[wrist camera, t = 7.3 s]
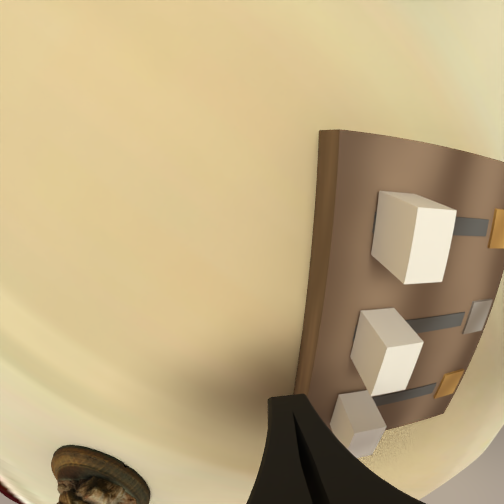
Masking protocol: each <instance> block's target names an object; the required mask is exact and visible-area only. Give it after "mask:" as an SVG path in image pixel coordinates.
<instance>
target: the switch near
mask: <svg viewBox="0 0 504 504" xmlns="http://www.w3.org/2000/svg"><path fill="white" fill-rule="evenodd" d="M456 212H457V210H454V209H452V208H450V207H447V206H445V205H442V204H440V203H437V202H435V201H432V200H430V199H427V198H424V197H422V196H419V195H417V194H410V193H399V192H388V191H379V197H378V206H377V215H376V223H375V230H374V238H373V245H372V251H371V255H372V256H373V257H374V258H375V259H376V260H378V261H379V262H380V263H381V264H382V265H383V266H384V267H385V268H387V269H388V270H389V271H390V272H391V273H392V274H393V275H394V276H395V277H396V278H398V279H399V280H400V281H401V282H402V283H403V284H418V283H433V282H442V280H443V276H444V272H445V268H446V263H447V259H448V255H449V250H450V245H451V240H452V235H453V230H454V224H455V218H456Z"/></svg>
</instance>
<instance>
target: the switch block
mask: <svg viewBox="0 0 504 504" xmlns="http://www.w3.org/2000/svg"><path fill="white" fill-rule="evenodd" d="M379 191H388V192H399V193H410V194H417V195H419V196H422V197H424V198H427V199H430V200H432V201H435V202H437V203H440V204H442V205H445V206H447V207H450V208H452V209H454V210H457V212H456V218H455V224H454V230H453V235H452V240H451V245H450V250H449V255H448V259H447V263H446V268H445V272H444V276H443V280H442V282H433V283H418V284H403V283H402V282H401V281H400V280H399V279H398V278H396V277H395V276H394V275H393V274H392V273H391V272H390V271H389V270H388V269H387V268H385V267H384V266H383V265H382V264H381V263H380V262H379V261H378V260H376V259H375V258H374V257H373V256H372V255H371V251H372V245H373V238H374V230H375V223H376V215H377V206H378V197H379ZM503 270H504V162H502V161H498V160H495V159H491V158H488V157H484V156H481V155H477V154H473V153H469V152H465V151H461V150H457V149H452V148H448V147H443V146H439V145H434V144H429V143H424V142H419V141H414V140H408V139H403V138H397V137H391V136H385V135H378V134H371V133H364V132H356V131H348V130H320V131H319V151H318V170H317V187H316V202H315V215H314V228H313V239H312V251H311V261H310V271H309V281H308V290H307V299H306V308H305V316H304V324H303V332H302V340H301V347H300V354H299V361H298V368H297V375H296V382H295V388H294V395H295V394H303V393H304V394H305V395H306V396H307V398H308V399H309V401H310V403H311V404H312V406H313V407H314V409H315V410H316V412H317V413H318V415H319V416H320V417H321V419H322V420H323V421H324V423H325V424H326V425H327V427H328V428H329V429H330V430H331V431H332V429H331V426H330V422H331V419H332V415H333V412H334V409H335V405H336V402H337V399H338V395H339V394H345V393H352V392H359V391H365V390H367V388H366V386H365V384H364V382H363V380H362V378H361V377H360V375H359V373H358V371H357V369H356V367H355V365H354V363H353V361H352V359H351V357H350V356H351V352H352V348H353V343H354V339H355V335H356V330H357V326H358V321H359V317H360V312H361V311H362V310H374V309H386V308H395V309H396V311H397V312H398V313H399V314H400V315H401V316H402V317H403V318H404V320H405V321H406V322H407V323H408V324H409V325H410V326H411V328H412V329H413V330H414V331H415V332H416V333H417V335H418V336H419V337H420V338H421V339H422V340H423V342H424V343H423V345H422V348H421V351H420V354H419V356H418V359H417V362H416V364H415V367H414V369H413V372H412V374H411V377H410V379H409V382H408V384H407V386H406V389H405V390H401V391H396V392H391V393H386V394H381V395H376V396H372V398H373V400H374V402H375V404H376V406H377V408H378V410H379V412H380V414H381V416H382V418H383V420H384V422H385V424H386V426H387V427H386V429H385V430H388V429H392V428H396V427H400V426H404V425H407V424H411V423H414V422H418V421H421V420H424V419H428V418H431V417H434V416H437V415H440V414H443V413H444V412H445V410H446V408H447V406H448V405H449V403H450V401H451V399H452V397H453V395H454V393H455V392H456V390H457V388H458V386H459V384H460V382H461V380H462V378H463V376H464V374H465V372H466V370H467V367H468V365H469V363H470V361H471V359H472V356H473V354H474V352H475V350H476V347H477V345H478V343H479V340H480V338H481V335H482V333H483V330H484V328H485V325H486V322H487V320H488V317H489V314H490V311H491V309H492V306H493V303H494V300H495V297H496V294H497V291H498V287H499V284H500V281H501V277H502V274H503ZM332 433H333V432H332Z"/></svg>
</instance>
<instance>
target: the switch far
mask: <svg viewBox="0 0 504 504" xmlns="http://www.w3.org/2000/svg"><path fill="white" fill-rule="evenodd" d="M330 426H331V429H332V432H333V434H334V435H335V436H336V437H337V439H338V440H339V441H340V442H341V443H342V444H343V445H344V446H345V447H346V448H347V449H348V450H349V451H350V452H351V453H352V454H353V455H354V456H355V457H356V458H359V457H364V456H368V455H372V454H373V452H374V450H375V448H376V446H377V445H378V443H379V441H380V439H381V437H382V435H383V433H384V431H385V429H386V427H387V426H386V424H385V422H384V420H383V418H382V416H381V414H380V412H379V410H378V408H377V406H376V404H375V402H374V400H373V398H372V396H370V394H369V392H368V390H365V391H359V392H352V393H345V394H339V395H338V399H337V402H336V405H335V409H334V412H333V415H332V419H331V422H330Z"/></svg>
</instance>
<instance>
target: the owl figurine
mask: <svg viewBox="0 0 504 504" xmlns="http://www.w3.org/2000/svg"><path fill="white" fill-rule="evenodd" d="M51 467H52V471H53V473H54V476H55V478H56V479H57V481H58V491H59V493H60V497H59V502H58V503H57V504H149V500H150V491H149V489H148V486H147V485H146V483H145V481H144V480H143V479H142V478H141V476H140V475H139V474H137V473H136V472H135V471H134V470H133V469H131V468H129V467H127V466H126V468H127V469H126V468H125V467H124V464H123V463H122V462H121V461H119V460H118V459H116V458H114V457H112V456H109V455H106V454H103V453H101V452H99V451H96V450H92V449H90V448H86V447H82V446H75V445H66V446H62V447H60V448H59V449H58V450H57V451H55V453H54V454H53V458H52V462H51Z"/></svg>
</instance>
